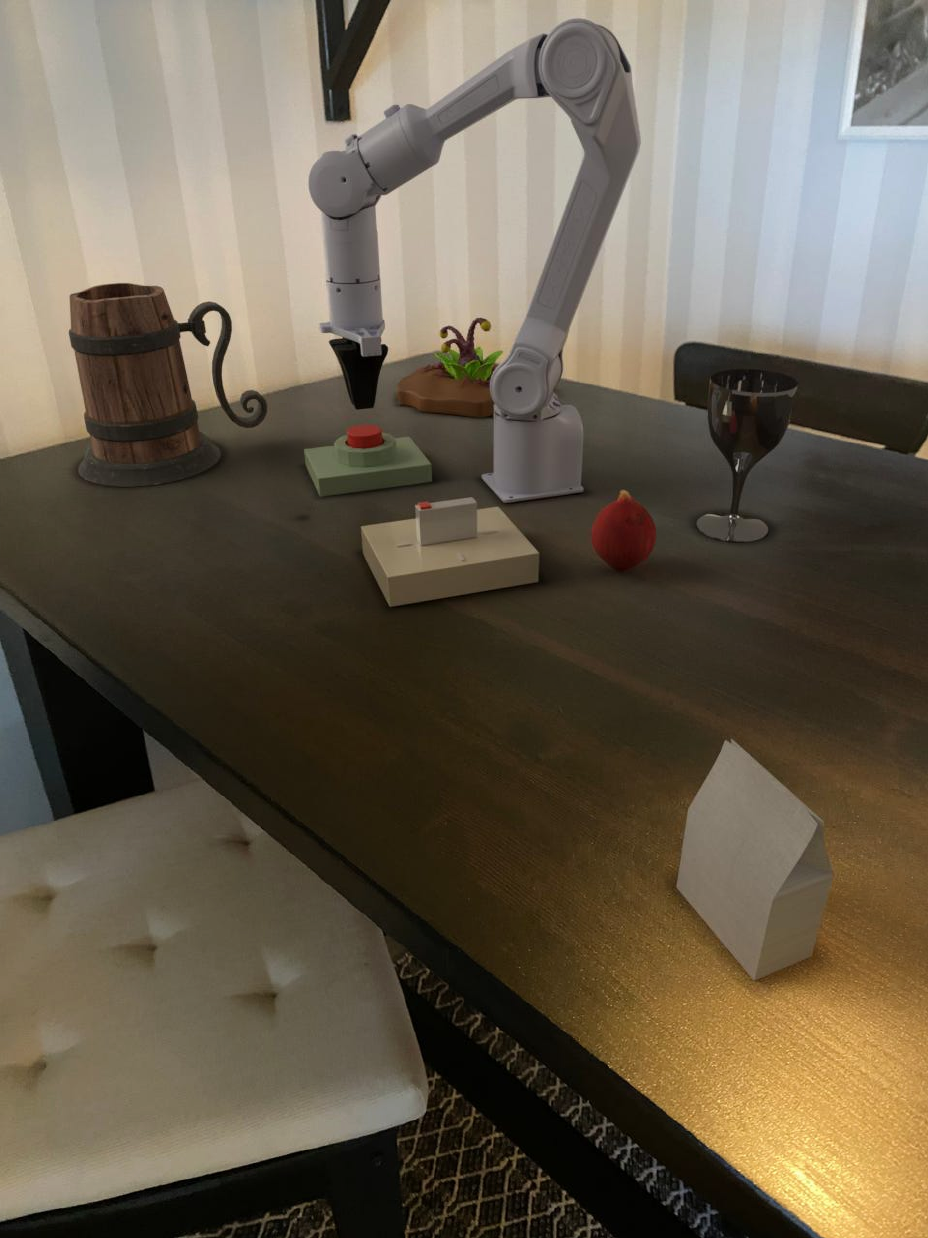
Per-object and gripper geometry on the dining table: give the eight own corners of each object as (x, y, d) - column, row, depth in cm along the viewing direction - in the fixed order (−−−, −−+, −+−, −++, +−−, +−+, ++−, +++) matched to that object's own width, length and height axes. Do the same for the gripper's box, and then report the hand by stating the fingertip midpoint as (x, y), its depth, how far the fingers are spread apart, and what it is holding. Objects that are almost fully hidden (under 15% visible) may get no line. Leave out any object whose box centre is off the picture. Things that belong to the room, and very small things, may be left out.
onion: (656, 561, 85) (664, 482, 81) (646, 589, 81) (655, 507, 77) (596, 553, 87) (601, 475, 83) (582, 580, 82) (587, 499, 78)
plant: (494, 425, 120) (494, 340, 114) (376, 404, 129) (371, 323, 123) (561, 387, 134) (564, 310, 129) (451, 370, 144) (450, 297, 138)
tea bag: (754, 981, 46) (787, 835, 40) (676, 887, 51) (697, 748, 46) (811, 956, 47) (851, 812, 42) (729, 867, 52) (755, 730, 47)
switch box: (472, 531, 85) (472, 494, 83) (477, 537, 84) (477, 499, 82) (416, 539, 83) (414, 502, 81) (420, 546, 82) (419, 508, 80)
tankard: (86, 496, 101) (41, 312, 91) (71, 450, 114) (30, 285, 104) (289, 461, 110) (268, 289, 100) (253, 422, 123) (231, 266, 113)
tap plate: (498, 533, 91) (498, 504, 90) (538, 582, 82) (539, 551, 81) (362, 554, 88) (360, 524, 86) (389, 607, 79) (387, 575, 77)
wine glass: (778, 518, 93) (803, 373, 86) (765, 549, 87) (792, 396, 80) (701, 506, 96) (719, 365, 89) (684, 535, 90) (702, 387, 83)
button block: (410, 453, 112) (408, 421, 110) (432, 482, 103) (431, 448, 101) (305, 466, 108) (302, 434, 106) (320, 497, 100) (316, 463, 98)
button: (378, 437, 106) (377, 422, 105) (386, 448, 103) (385, 433, 102) (345, 441, 105) (343, 426, 104) (351, 452, 102) (350, 437, 101)
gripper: (304, 270, 100) (316, 391, 107) (327, 294, 88) (339, 429, 95) (366, 265, 101) (374, 385, 108) (398, 289, 90) (404, 421, 96)
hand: (362, 405), depth 102 cm, fingers closed
